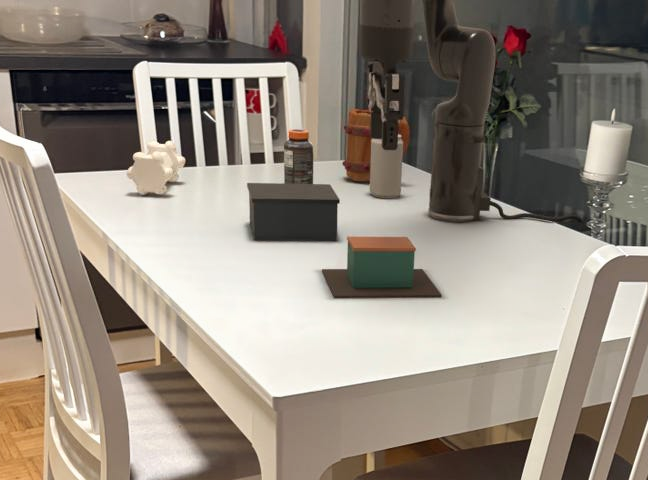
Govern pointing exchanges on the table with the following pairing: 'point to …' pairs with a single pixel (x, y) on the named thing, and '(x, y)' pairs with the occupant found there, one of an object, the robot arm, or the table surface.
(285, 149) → the pill bottle
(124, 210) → the table surface
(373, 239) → the orange and teal box
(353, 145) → the mug
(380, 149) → the beverage can
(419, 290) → the mat
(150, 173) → the white bone
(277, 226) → the bottom box
